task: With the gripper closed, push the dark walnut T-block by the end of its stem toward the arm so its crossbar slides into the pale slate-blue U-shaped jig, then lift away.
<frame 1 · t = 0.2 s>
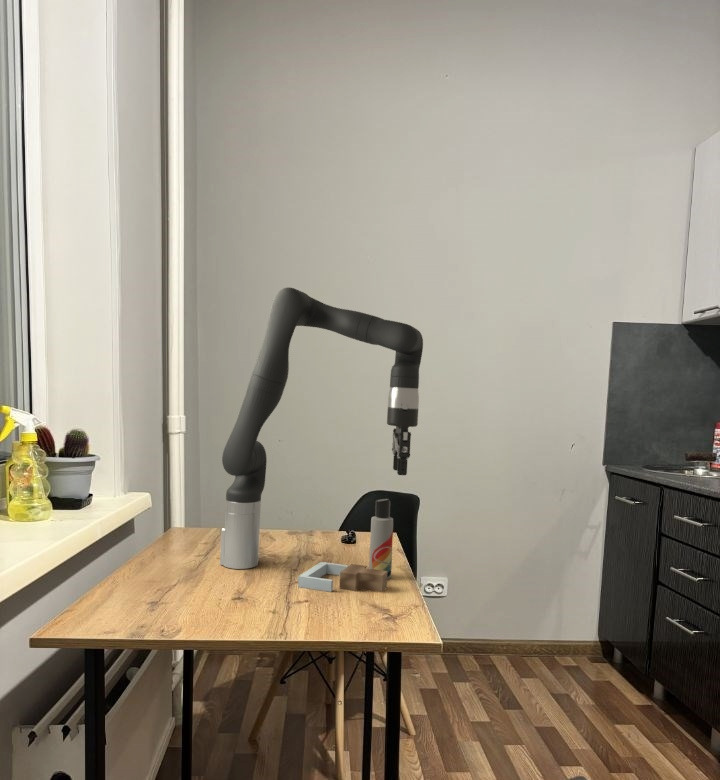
hand: (399, 472, 141), 28 cm above the table, fingers open, 8 cm apart
t block: (384, 590, 138), on the table
lotion bottle: (380, 577, 149), on the table
jig: (322, 580, 143), on the table
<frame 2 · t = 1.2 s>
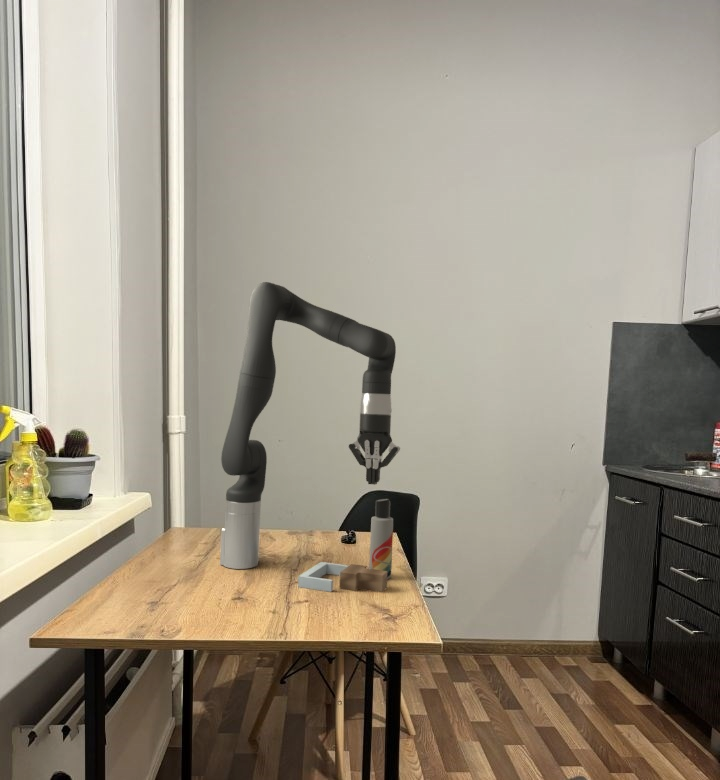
hand: (372, 483, 140), 25 cm above the table, fingers closed
nothing on the table moved.
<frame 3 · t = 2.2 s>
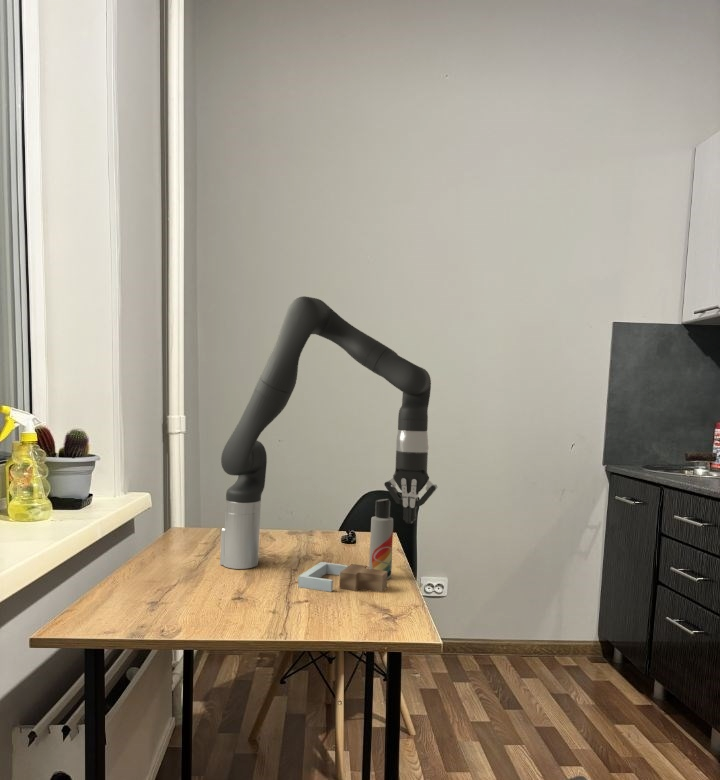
hand: (409, 522, 137), 17 cm above the table, fingers closed
nothing on the table moved.
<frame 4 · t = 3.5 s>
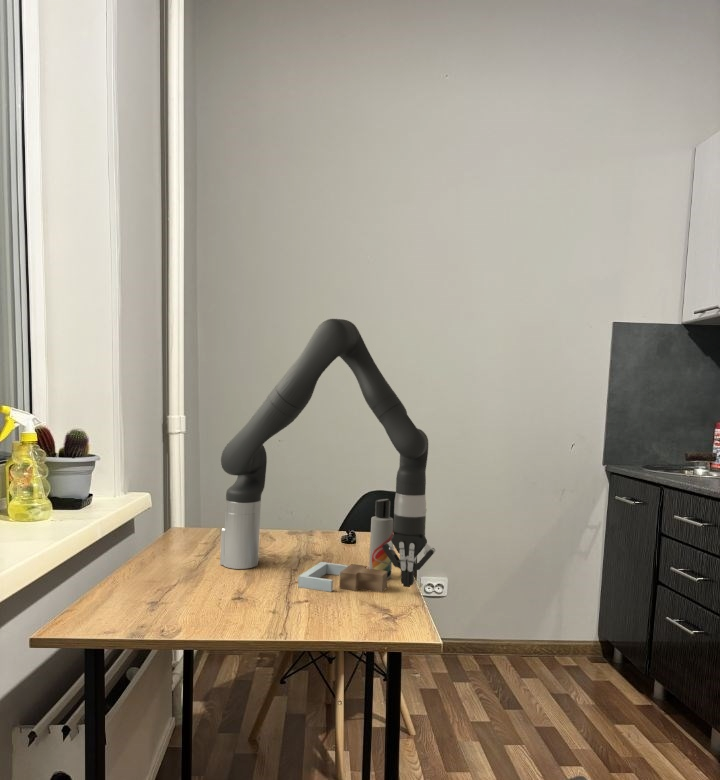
hand: (407, 586, 136), 2 cm above the table, fingers closed
nothing on the table moved.
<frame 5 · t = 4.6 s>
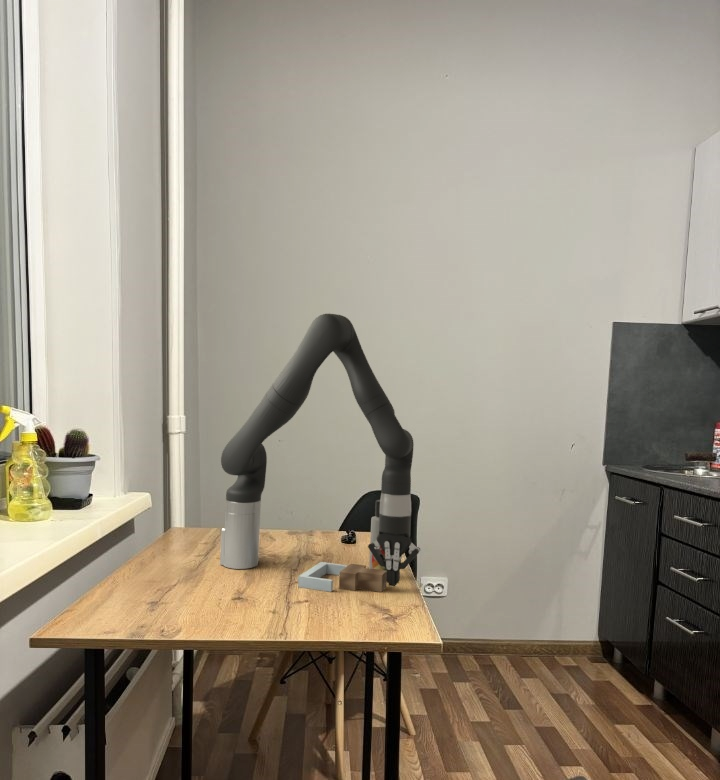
hand: (392, 584, 138), 1 cm above the table, fingers closed
t block: (383, 589, 138), on the table, touching gripper
everything else where it was.
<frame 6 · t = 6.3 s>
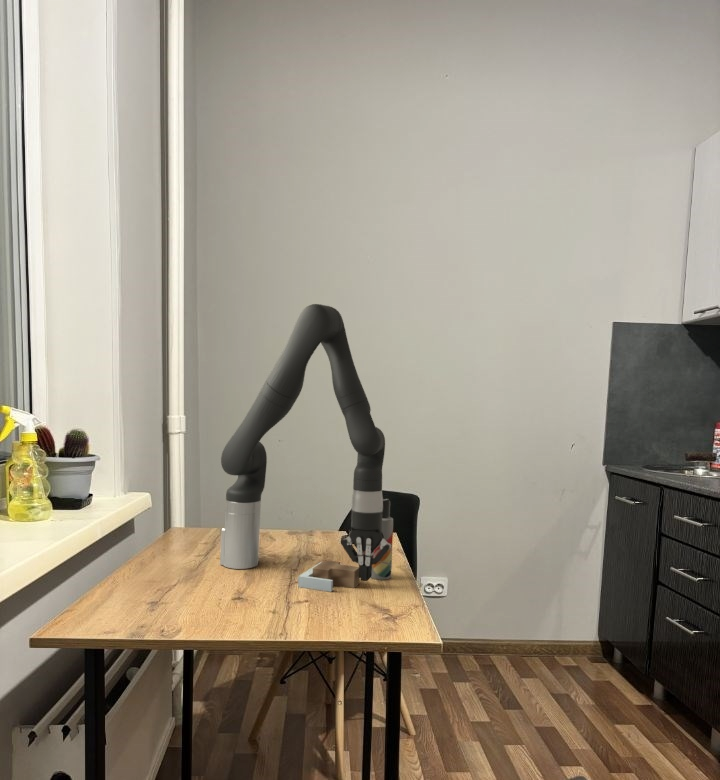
hand: (365, 580, 140), 2 cm above the table, fingers closed
t block: (356, 585, 141), on the table, touching gripper
everything else where it was.
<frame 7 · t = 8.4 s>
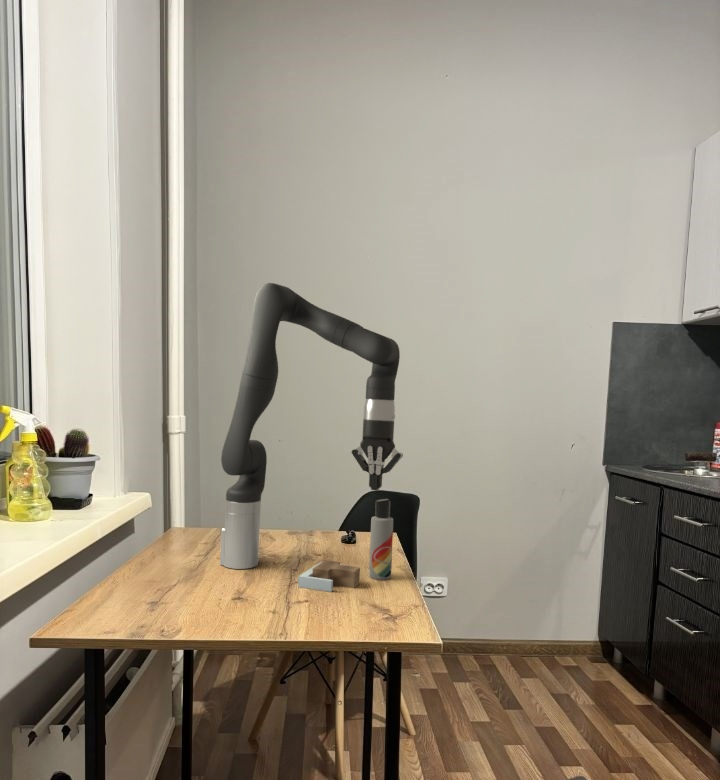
hand: (375, 489, 140), 24 cm above the table, fingers closed
t block: (356, 586, 141), on the table
everything else where it was.
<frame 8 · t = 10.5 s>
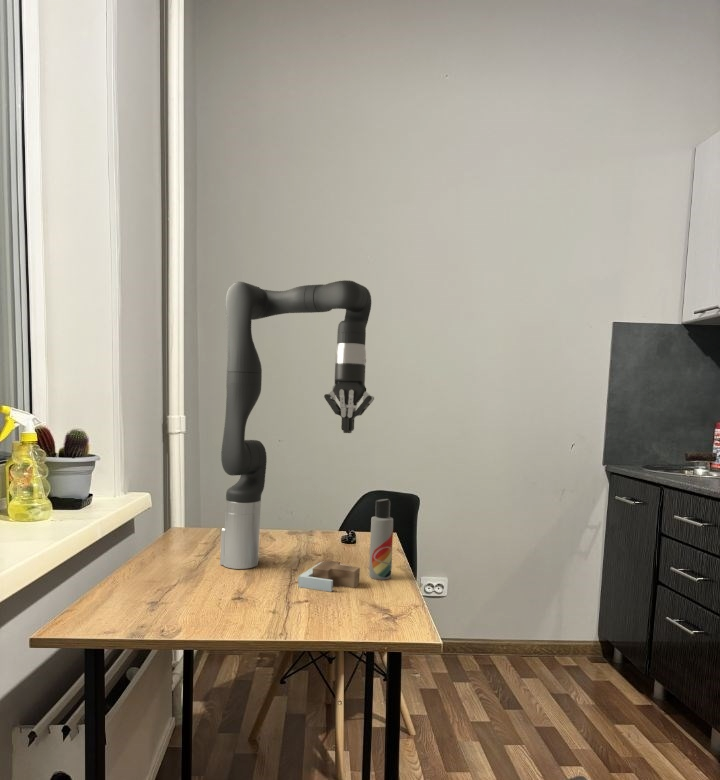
hand: (347, 432, 143), 37 cm above the table, fingers closed
nothing on the table moved.
at the end: t block 1.1 cm from the target spot, on the table; t block moved 7.1 cm from its start; t block tilted 0° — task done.
